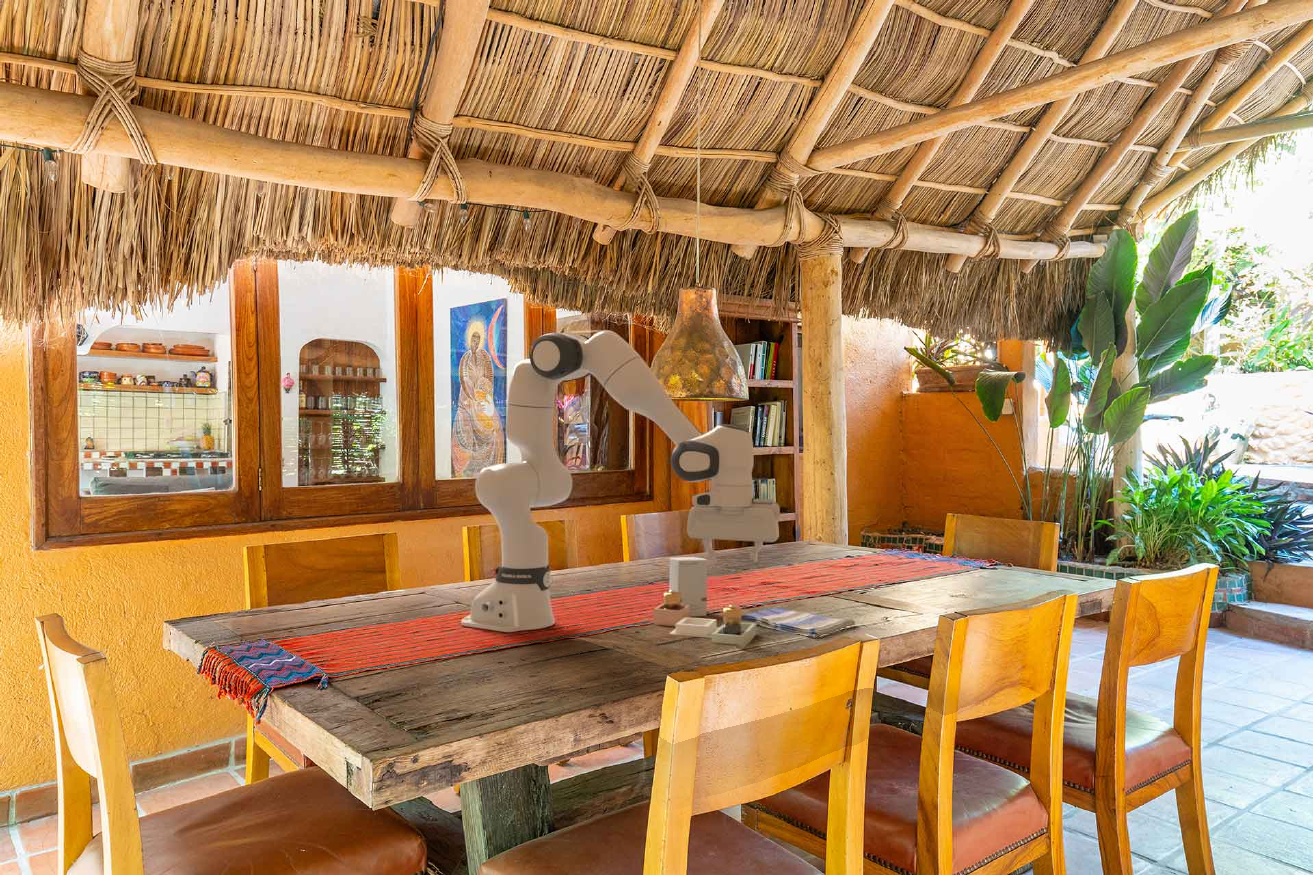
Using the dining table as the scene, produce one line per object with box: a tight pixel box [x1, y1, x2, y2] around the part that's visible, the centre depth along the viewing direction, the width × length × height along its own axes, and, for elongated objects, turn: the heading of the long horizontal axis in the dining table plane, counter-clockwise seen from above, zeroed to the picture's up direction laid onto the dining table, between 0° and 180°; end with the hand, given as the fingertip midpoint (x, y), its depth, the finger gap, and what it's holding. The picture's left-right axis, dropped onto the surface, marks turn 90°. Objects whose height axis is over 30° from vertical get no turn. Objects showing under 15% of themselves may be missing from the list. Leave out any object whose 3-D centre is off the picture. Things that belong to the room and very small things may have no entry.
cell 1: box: [663, 589, 681, 610], centre depth 208 cm, size 4×4×8 cm
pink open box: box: [653, 602, 691, 627], centre depth 208 cm, size 7×7×4 cm
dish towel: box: [741, 607, 856, 639], centre depth 209 cm, size 17×24×3 cm
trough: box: [711, 621, 757, 649], centre depth 194 cm, size 7×13×3 cm, turn 161°
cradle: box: [669, 617, 720, 639], centre depth 199 cm, size 10×9×3 cm
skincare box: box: [668, 556, 708, 618], centre depth 217 cm, size 8×6×15 cm
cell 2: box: [722, 604, 742, 635], centre depth 192 cm, size 4×4×8 cm
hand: (732, 560), depth 192 cm, fingers open, 8 cm apart
